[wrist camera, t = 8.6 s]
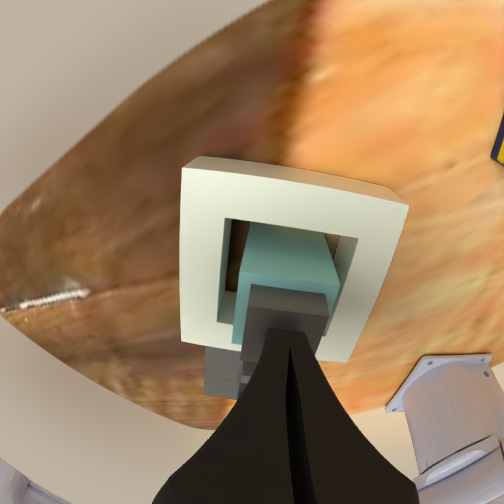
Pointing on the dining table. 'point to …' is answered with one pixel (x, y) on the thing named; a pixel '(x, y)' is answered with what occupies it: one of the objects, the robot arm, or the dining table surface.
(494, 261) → the dining table surface
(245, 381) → the grey socket plate
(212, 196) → the port
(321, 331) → the plug
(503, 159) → the supplement box
